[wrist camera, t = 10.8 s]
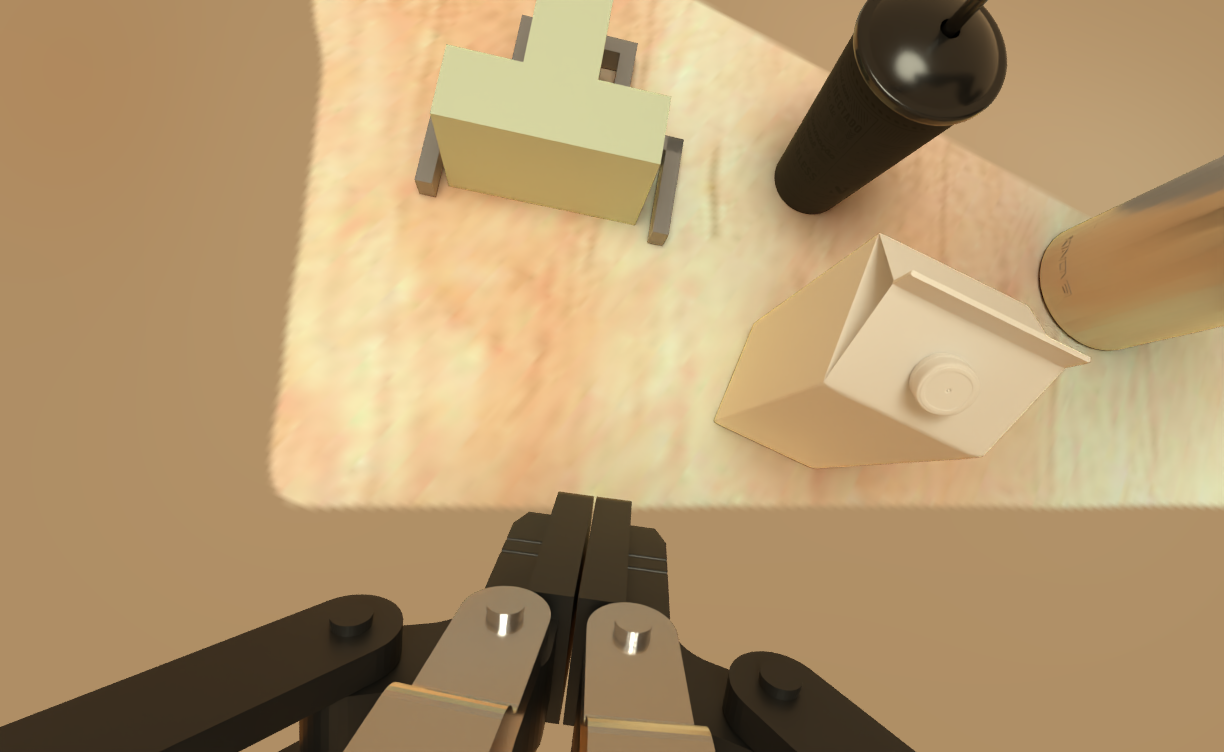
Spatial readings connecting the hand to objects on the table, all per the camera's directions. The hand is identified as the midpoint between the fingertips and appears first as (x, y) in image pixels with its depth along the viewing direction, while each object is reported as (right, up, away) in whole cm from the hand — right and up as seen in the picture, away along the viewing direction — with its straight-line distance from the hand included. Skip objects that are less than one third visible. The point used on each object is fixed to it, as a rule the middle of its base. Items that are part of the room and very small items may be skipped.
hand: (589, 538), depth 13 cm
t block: (-3, +19, +28) cm, 34 cm away
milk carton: (+11, +2, +28) cm, 30 cm away
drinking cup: (+14, +17, +31) cm, 37 cm away
